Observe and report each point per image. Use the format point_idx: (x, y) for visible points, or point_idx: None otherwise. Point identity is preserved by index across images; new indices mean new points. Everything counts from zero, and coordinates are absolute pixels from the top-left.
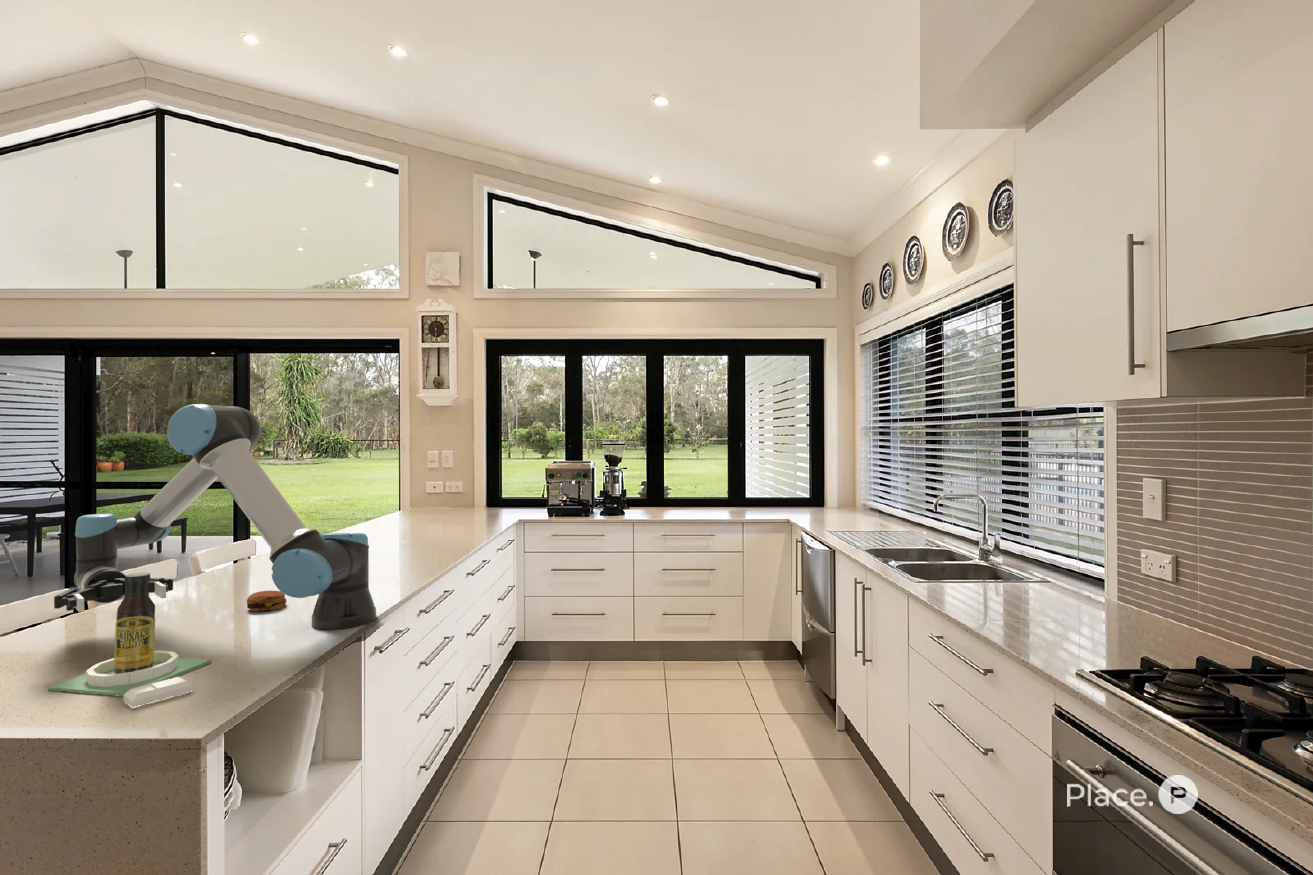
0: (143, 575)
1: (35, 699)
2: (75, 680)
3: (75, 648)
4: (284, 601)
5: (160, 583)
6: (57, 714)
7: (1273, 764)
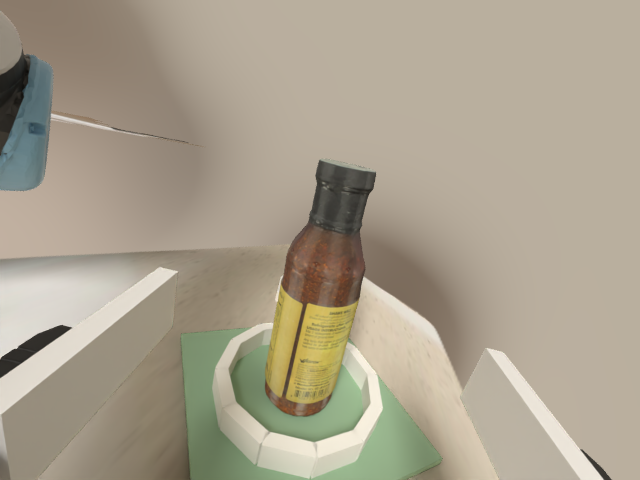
0: (338, 161)
1: (447, 425)
2: (395, 453)
3: None
4: None
5: (87, 324)
6: (402, 339)
7: (182, 141)
